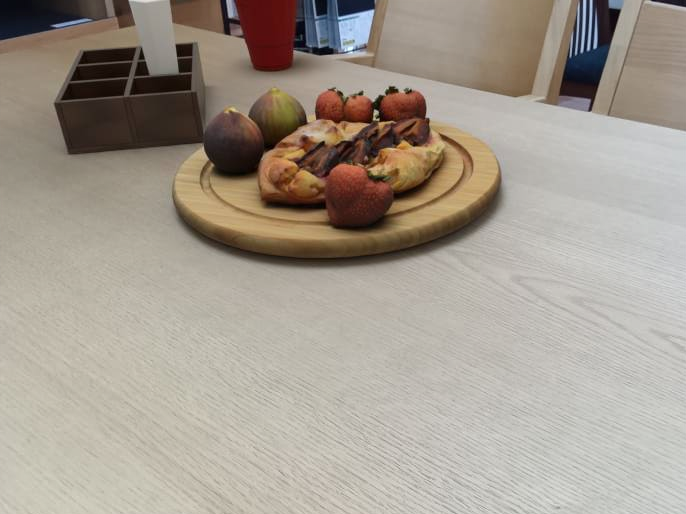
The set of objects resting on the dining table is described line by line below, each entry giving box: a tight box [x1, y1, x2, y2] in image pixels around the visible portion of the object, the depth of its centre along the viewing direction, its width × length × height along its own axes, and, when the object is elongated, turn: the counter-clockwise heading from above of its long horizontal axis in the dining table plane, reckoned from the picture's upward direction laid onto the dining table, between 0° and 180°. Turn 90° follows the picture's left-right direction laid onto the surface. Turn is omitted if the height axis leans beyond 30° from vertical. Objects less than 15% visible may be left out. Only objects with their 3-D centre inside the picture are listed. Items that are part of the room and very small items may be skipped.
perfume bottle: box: [127, 0, 179, 75], centre depth 88 cm, size 5×4×15 cm
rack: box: [53, 41, 206, 155], centre depth 91 cm, size 15×22×6 cm
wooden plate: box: [171, 85, 502, 259], centre depth 72 cm, size 32×32×8 cm
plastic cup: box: [233, 0, 299, 72], centre depth 106 cm, size 11×11×12 cm
